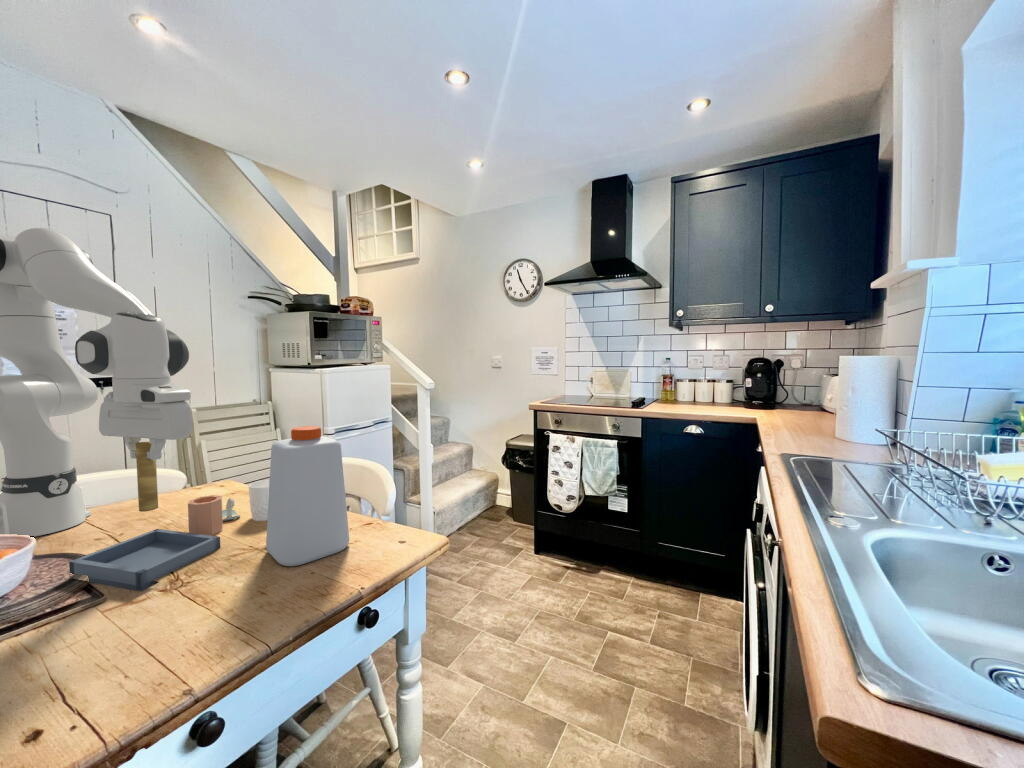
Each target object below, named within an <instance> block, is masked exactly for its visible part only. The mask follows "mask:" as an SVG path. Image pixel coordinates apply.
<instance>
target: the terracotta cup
mask: <svg viewBox="0 0 1024 768" xmlns="http://www.w3.org/2000/svg"><path fill="white" fill-rule="evenodd" d="M222 511H223V496H222V495H219V494H218V495H216V494H210V495H204V496H199V497H196V498H193V499H189V501H188V502H187V513H188V514H187V515H188V516H187V517H188V519H187V520H188V533H194V534H202V535H210V536H215V535H217V534H218V533H221V532H222V531H223V528H224V526H223V524H224V521H223V519H224V517H223V516H222Z"/></svg>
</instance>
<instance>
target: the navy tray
mask: <svg viewBox="0 0 1024 768" xmlns="http://www.w3.org/2000/svg"><path fill="white" fill-rule="evenodd" d="M219 549H221V536H219V535H217V536H215V535H212V536H210V535H202V534H194V533H189V532H186V531H178V530H171V529H162V528H156V529H153V530H150V531H148V532H145V533H142V534H140V535H137V536H134V537H132V538H129V539H125V540H123V541H121V542H118V543H116V544H113V545H111V546H107V547H105V548H102V549H100V550H96V551H94V552H91V553H89V554H86V555H84V556H81V557H78V558H75V559H73V560H70V561H69V562H68V564H69V567H68V568H69V574H70V573H72V574H83V575H87V576H88V578H89V582H88V583H90V584H96V585H102V586H107V587H108V586H109V587H113V588H115V587H116V588H120V589H124V590H131V591H136V592H142V591H145V590H146V589H149V588H151V587H153V586H155V585H157V584H159V583H160V581H156V580H157V579H159V578H162V577H163V576H165V575H168V574H169V573H171V572H174V571H176V570H179V569H180V568H182V567H183V566H186V565H188V564H190V563H192V562H194V561H196V560H198V559H201V558H203V557H204V556H205V557H206V555H208V554H211V553H213V552H215V551H217V550H219Z"/></svg>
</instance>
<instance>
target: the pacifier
mask: <svg viewBox="0 0 1024 768" xmlns="http://www.w3.org/2000/svg"><path fill="white" fill-rule="evenodd" d="M225 506H226V507H225V509H222V516H223V522H226V521H232V520H235V519H238V518H240V517H241V515H238V514H237V512H236V511H235V510H234V509H233V508H234V507H235V499H234V498H228V499H227V502H226V505H225ZM225 517H226V518H225Z"/></svg>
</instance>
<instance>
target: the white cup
mask: <svg viewBox="0 0 1024 768" xmlns="http://www.w3.org/2000/svg"><path fill="white" fill-rule="evenodd" d="M269 482H270V478H269V479H263V480H257V481H254V482H251V483H250V484H249V485H248V495H249V496H248V497H249V505H250V507H249V509H250V514H251V520H253V521H256V522H263V521H264V522H265V521H267V519H268V501H269Z"/></svg>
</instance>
